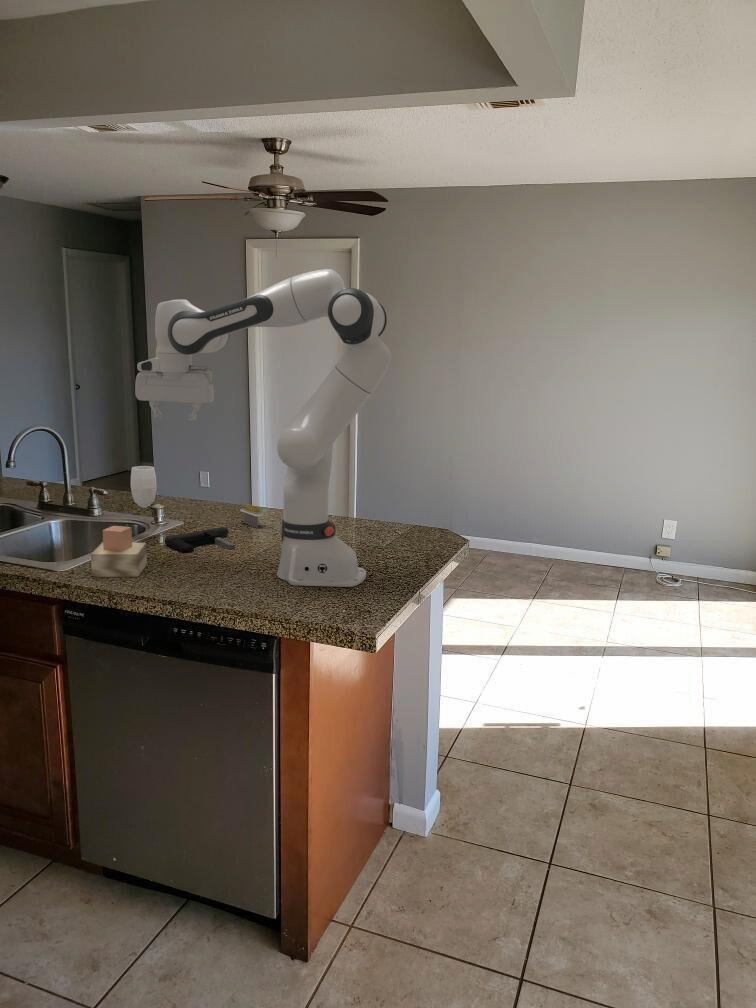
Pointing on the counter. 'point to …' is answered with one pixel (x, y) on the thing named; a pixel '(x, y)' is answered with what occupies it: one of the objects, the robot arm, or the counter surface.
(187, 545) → the black clamp
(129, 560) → the birch box
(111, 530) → the terracotta block
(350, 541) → the counter surface
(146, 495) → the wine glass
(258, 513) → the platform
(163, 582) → the counter surface
